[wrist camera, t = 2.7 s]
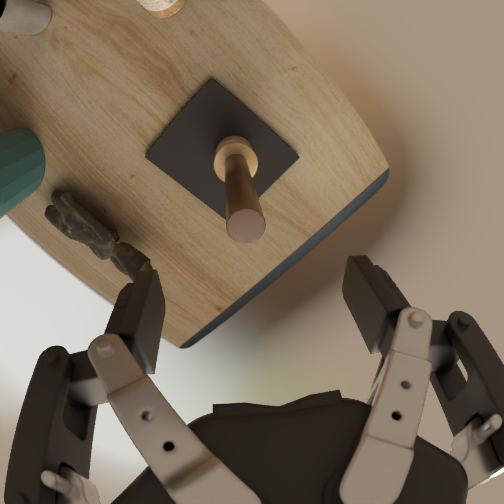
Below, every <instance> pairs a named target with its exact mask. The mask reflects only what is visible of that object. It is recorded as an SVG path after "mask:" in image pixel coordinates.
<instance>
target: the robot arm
mask: <svg viewBox="0 0 504 504" xmlns="http://www.w3.org/2000/svg"><path fill="white" fill-rule="evenodd" d="M342 290H343V291H342V292H343V297H344V300H345V302H346V304H347V306H348V308H349V310H350V312H351V314H352V316H353V318H354V320H355V322H356V324H357V325H358V328H359V330H360V332H361V334H362V337H363V339H364V341H365V343H366V345H367V347H368V350H369V352H370V354H374V353H378V352H381V354H382V358H381V360H380V362H379V365H378V368H377V371H376V374H375V377H374V379H373V382H372V385H371V388H370V390H369V393H368V395H367V397H366V399H365V402H361V401H359V400H354V399H349V398H342V396H341V393H340V390H335V391H329V392H324V393H318V394H312V395H308V396H306V397H303V398H301V399H298V400H296V401H293V402H290V403H287V404H285V405H282V406H268V405H260V404H252V403H231V404H213V413H210V414H207V415H204V416H202V417H199V418H197V419H196V420H194V421H192V422H191V423H189V424H188V425H186V424H185V422H184V421H183V420H182V419H181V418H180V416H179V415H178V414H177V413H176V412H175V410H174V409H173V408H172V407H171V405H170V404H169V403H168V402H167V400H166V399H165V398H164V396H163V395H162V394H161V392H160V391H159V390H158V388H157V387H156V386H155V384H154V383H153V381H152V380H151V379H150V377H149V376H148V375H147V374H155V368H156V361H157V355H158V349H159V343H160V338H161V332H162V327H163V321H164V316H165V299H164V295H163V291H162V287H161V283H160V279H159V275H158V272H157V270H141V271H138V273H137V275H136V278H135V280H134V283H128V284H127V285H126V286H125V287H124V288H123V289H122V290H121V291H120V293H119V295H118V298H117V302H116V303H115V306H114V309H113V311H112V314H111V316H110V319H109V322H108V324H107V327H106V330H105V333H104V334H103V335H100V336H98V337H97V338H95V339H94V340H93V341H92V342H91V343H90V345H89V347H88V350H86V351H81V352H77V353H73V354H69V353H68V352H67V350H66V349H65V348H64V347H62V346H52V347H49V348H47V349H46V350H45V351H43V352H42V354H41V355H40V356H39V359H38V361H37V364H36V366H35V369H34V372H33V375H32V378H31V381H30V383H29V386H28V389H27V392H26V396H25V399H24V402H23V405H22V409H21V412H20V416H19V420H18V423H17V427H16V431H15V435H14V440H13V444H12V449H11V454H10V459H9V464H8V470H7V477H6V483H5V492H4V502H5V504H101V503H100V499H99V493H98V490H97V488H96V486H95V485H94V484H93V483H92V482H91V481H90V480H89V470H90V459H91V450H92V441H93V434H94V425H95V419H96V414H97V408H98V404H103V403H107V402H109V403H110V405H111V407H112V408H113V410H114V412H115V414H116V416H117V417H118V419H119V421H120V422H121V424H122V425H123V427H124V429H125V431H126V432H127V434H128V435H129V437H130V439H131V440H132V442H133V443H134V445H135V446H136V448H137V449H138V451H139V452H140V454H141V455H142V457H143V458H144V459H145V461H146V463H147V464H148V467H147V468H146V469H145V470H144V471H143V472H142V473H141V474H140V475H139V476H138V477H137V478H136V479H135V480H134V481H133V482H132V483H131V484H130V485H129V486H128V487H127V488H126V489H125V490H124V491H123V492H122V493H121V494H120V495H119V496H118V497H117V498H116V499H115V500H114V501H113V502H112V503H111V504H466V499H467V493H468V490H469V489H471V488H472V487H474V486H476V485H480V484H483V483H485V482H487V481H488V480H490V479H492V478H494V477H495V476H497V475H499V474H500V473H502V472H504V365H503V363H502V361H501V360H500V358H499V357H498V355H497V353H496V351H495V350H494V348H493V347H492V345H491V343H490V342H489V340H488V339H487V337H486V336H485V334H484V333H483V331H482V330H481V328H480V327H479V325H478V324H477V322H476V321H475V320H474V318H473V317H472V316H470V315H469V314H467V313H465V312H462V311H455V312H453V313H451V315H450V316H449V318H448V320H447V321H440V320H432V319H431V317H430V316H429V315H428V314H427V313H426V312H425V311H423V310H421V309H419V308H415V307H411V306H410V304H409V303H408V301H407V300H406V298H405V297H404V296H403V294H402V293H401V291H400V290H399V288H398V287H396V284H395V283H394V282H393V281H392V279H391V278H390V276H389V275H388V273H387V272H386V271H385V270H383V269H382V268H380V267H379V266H378V265H373V263H372V262H371V261H370V259H369V258H368V257H367V256H366V255H357V256H349V257H348V259H347V264H346V269H345V275H344V280H343V287H342ZM459 359H460V360H461V362H462V364H463V365H464V367H465V369H466V371H467V374H468V380H467V382H466V380H465V378H464V376H463V374H462V372H461V370H460V368H459V367H458V365H457V362H458V360H459ZM145 374H146V375H145ZM429 379H430V381H431V383H432V385H433V388H434V390H435V392H436V395H437V397H438V399H439V402H440V404H441V406H442V409H443V411H444V413H445V416H446V418H447V421H448V423H449V426H450V429H451V431H452V434H453V436H454V439H453V442H452V450H451V451H450V454H448V453H446V452H444V451H443V450H441V449H439V448H438V447H436V446H434V445H432V444H431V443H429V442H427V441H426V440H424V439H423V438H421V437H419V436H418V435H417V431H418V427H419V424H420V420H421V416H422V411H423V407H424V403H425V399H426V393H427V389H428V384H429Z"/></svg>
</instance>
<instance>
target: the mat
mask: <svg viewBox="0 0 504 504" xmlns="http://www.w3.org/2000/svg"><path fill="white" fill-rule="evenodd" d="M229 136H240V137H243V138H245V139H246V140H247V141H248V142H249V143H250V144H251V146H252V148H253V150H254V152H255V154H256V156H257V160H258V167H257V171H256V173H255V175H254V176H253V177H252V180H253V183H254V187H255V190H256V193H257V196H258V198H259V197H260V196H261V195H262V194H263V193H264V192H265V191H266V190H267V189H268V188H269V187H270V186H271V185H272V184H273V183H274V182H275V181H276V180H277V179H278V178H279V177H280V176H281V175H282V174H283V173H284V172H285V171H286V170H287V169H288V168H289V167H290V166H291V165H293V164H294V163H295V162H296V161H297V160H298V159H299V158H300V157H299V156H298V155H297V154H296V153H295V152H294V151H293V150H292V149H291V148H290V147H289V146H288V145H287V144H286V143H285V142H284V141H283V140H282V139H280V138H279V137H278V136H277V135H276V134H275V133H274V132H273V131H272V130H271V129H270V128H269V127H268V126H267V125H266V124H264V123H263V122H262V121H261V120H260V119H259V118H258V117H257V116H256V115H255V114H253V113H252V112H251V111H250V110H249V109H248V108H247V107H246V106H244V105H243V104H242V103H241V102H240V101H239V100H237V99H236V98H235V97H234V96H233V95H232V94H230V93H229V92H228V91H227V90H226V89H224V88H223V87H222V86H221V85H220V84H218V83H217V82H216V81H215V80H213V79H212V78H211V79H210V80H209V81H208V82H207V83H206V84H205V86H204V87H203V88H202V89H201V90H200V91H199V92H198V93H197V94H196V95H195V96H194V97H193V99H192V100H191V101H190V102H189V103H188V104H187V105H186V106H185V108H184V109H183V110H182V111H181V112H180V113H179V114H178V116H177V117H176V118H175V119H174V120H173V122H172V123H171V124H170V125H169V126H168V128H167V129H166V130H165V131H164V132H163V134H162V135H161V136H160V137H159V139H158V140H157V141H156V143H155V144H154V145H153V146H152V148H151V149H150V150H149V152H148V153H147V154H146V156H145V157H146V158H147V159H148V160H149V161H151V162H152V163H153V164H155V165H156V166H157V167H159V168H160V169H161V170H162V171H164V172H165V173H166V174H168V175H169V176H170V177H171V178H173V179H174V180H175V181H177V182H178V183H179V184H181V185H182V186H183V187H184V188H186V189H187V190H188V191H190V192H191V193H192V194H193V195H195V196H196V197H197V198H199V199H200V200H201V201H202V202H204V203H205V204H206V205H208V206H209V207H210V208H211V209H213V210H214V211H215V212H217V213H218V214H219V215H220V216H222V217H223V218H224V219H225V220H226V197H225V182H224V181H222V180H221V179H220V178H219V177H218V176H217V174H216V172H215V169H214V158H215V151H216V147H217V145H218V144H219V143H220V141H222V140H223V139H224V138H226V137H229Z"/></svg>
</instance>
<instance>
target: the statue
mask: <svg viewBox="0 0 504 504" xmlns="http://www.w3.org/2000/svg"><path fill="white" fill-rule="evenodd" d="M52 193H53V194H52V195H51V198H52V201H53V203H54V206H52V205H49V206H47V208H46V211H45V217H46V218H47V219H48V220H49V221H50V222H51V224H53V225H54V226H55V227H56V228H57V229H59V230H60V231H61V232H62V233H63V234H64V235H66V236H67V237H69V238H70V239H73V240H77V241H79V242H82V243H84V244H85V245H86V246H89V247H90V249H91V250H92V251H93V252H94V254H95V255H97V256H98V257H99V258H100V259H101V260H105V259H108V258H109V257H110V259H111V261H112V262H113V263H114V265H115V266H116V268H117V269H118V270H120V271H121V272H122V273H124V274H125V275H128V276H129V277H130V278H131V279H132V281H133V282H134V280H135V278H136V275H137V273H138V271H141V270H153V268H152V266H151V264H150V259H149V258H148V257H146V256H145V255H144V254H143V253H141V252H140V251H138V250H137V249H135V248H134V247H133V246H132V245H130V244H128V243H125V242H120V243H119V244H116V243H115V242H118V240H119V239H120V237H119V235H118V233H117V231H116V230H110V231H108V230H107V229H106V228H105V227H104V226H103V225H102V224H101V223H100V222H98V221H97V220H96V219H95V218H94V217H93V216H92V215H91V214H90V213H89V212H88V211H87V210H86V209H84V208H82V207H81V206H80V205H78V204H77V203H76V202H75V201H74V200H73V198H72V196H71V192H64V193H63V194H62V193H61V191H59V190H58V189H57V190H55V191H54V192H52Z"/></svg>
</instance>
